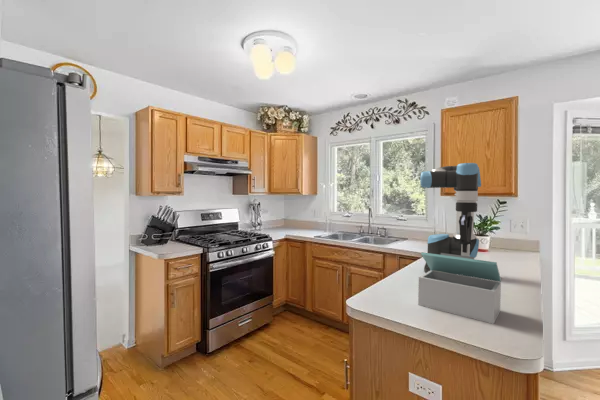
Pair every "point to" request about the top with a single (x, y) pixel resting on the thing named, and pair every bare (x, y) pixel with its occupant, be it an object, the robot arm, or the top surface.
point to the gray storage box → (460, 295)
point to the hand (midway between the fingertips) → (465, 260)
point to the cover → (462, 266)
